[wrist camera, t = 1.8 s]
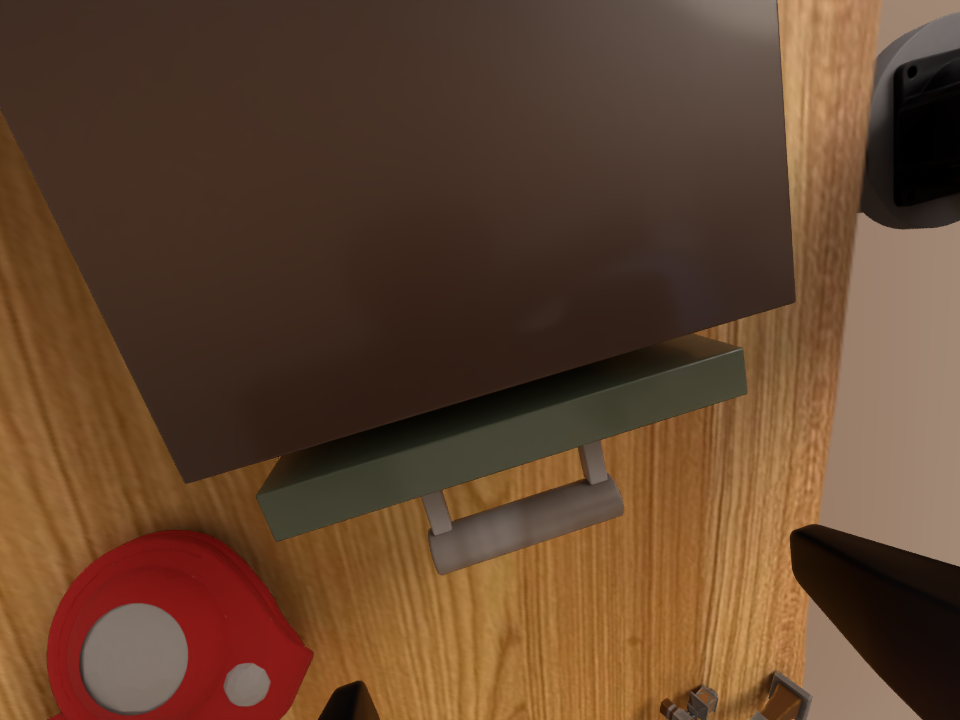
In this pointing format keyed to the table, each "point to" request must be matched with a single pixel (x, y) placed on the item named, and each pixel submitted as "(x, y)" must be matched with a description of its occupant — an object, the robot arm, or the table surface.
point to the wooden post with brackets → (775, 715)
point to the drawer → (502, 451)
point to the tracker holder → (172, 637)
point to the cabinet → (397, 195)
